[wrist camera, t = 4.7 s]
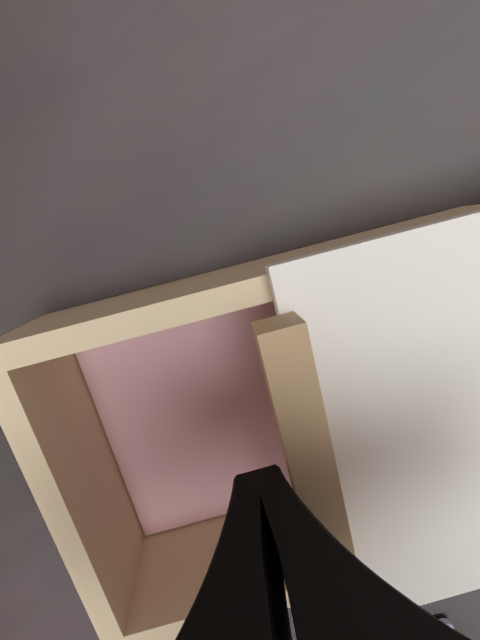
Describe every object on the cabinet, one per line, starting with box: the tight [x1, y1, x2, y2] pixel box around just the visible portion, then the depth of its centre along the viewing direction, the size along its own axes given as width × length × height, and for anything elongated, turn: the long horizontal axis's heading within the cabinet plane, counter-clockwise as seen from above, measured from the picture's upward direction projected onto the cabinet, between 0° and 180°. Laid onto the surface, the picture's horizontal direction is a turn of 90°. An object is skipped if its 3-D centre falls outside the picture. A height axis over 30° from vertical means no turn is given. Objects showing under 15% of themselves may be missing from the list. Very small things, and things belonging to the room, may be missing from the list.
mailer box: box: [0, 204, 480, 640], centre depth 14 cm, size 12×18×5 cm, turn 104°
